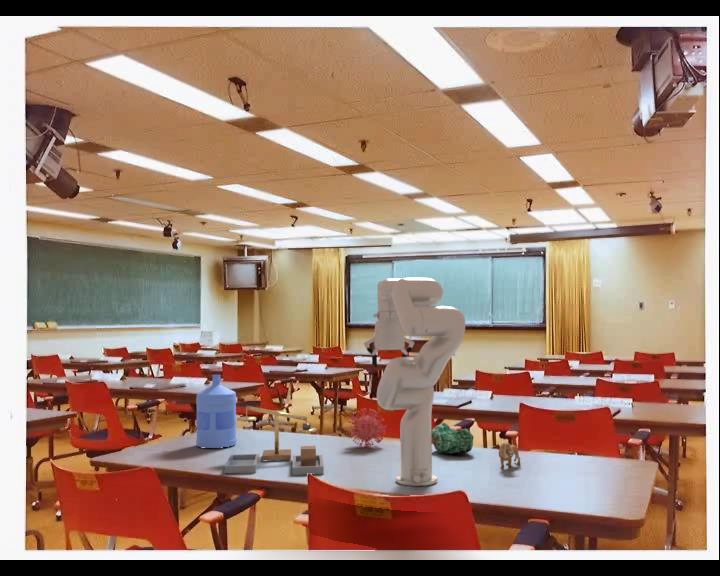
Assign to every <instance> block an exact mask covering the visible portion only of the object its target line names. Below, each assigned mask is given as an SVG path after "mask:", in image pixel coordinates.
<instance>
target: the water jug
mask: <svg viewBox="0 0 720 576" xmlns="http://www.w3.org/2000/svg"><path fill="white" fill-rule="evenodd" d="M211 380H212V384H211V385H210V386H208V387H207V388H204V389H203V390H201V391H199V392H197V393H196V398H195V401H196V402H195V404H196V419H195V422H196V424H195V425H196V441H195V443H196V446H197V447H198V446H199V447H205V448H221V447H228V446H232V447H234V446H236V444H237V405H236V404H237V392H236V391H234V390H232V389H231V388H227V387H226V386H224V385H222V384H221V374H212V379H211ZM233 445H234V446H233ZM199 447H198V448H199ZM228 448H229V447H228Z"/></svg>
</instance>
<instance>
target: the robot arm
mask: <svg viewBox="0 0 720 576" xmlns="http://www.w3.org/2000/svg"><path fill="white" fill-rule="evenodd" d="M376 290H377V291H376V292H377V295H376V296H377V312H375V313H373V315H372V316H373V318H376V319H377V320H376V321H375V323H374V332H373V333H374V334H373V336H374V337H371V338H370V339H368V340H366V341H365V342H363V346H364V347H365V349H366V351H367V352H368V354H370V355H371V364H372V366H373V368H377V367H378V358H377V357H378V356H377V353H378V352H379V351H397V350H398V351H401V353H402V354H401V356H400V357H399V356H398V357H394V358H391V360H389V362H388V363H387V364H386V367H385V369H384V371H383V373H382V376H381V378H380V380H379V383H378V385H377V390H376V402H377V404H378V406H379V407H380V408H381V409H382V410H383V409H384V410H385V411H386V410H387V411H395V410H396V411H397V410H406V411H404V412H405V413H404V414H403V415H402V417H401V420H400V423H399V428H400V429H399V431H400V434H399V435H400V437H399V438H400V440H399V442H400V444H399V445H400V446H399V447H400V474H399V475H396V476H395V481H396V483H398V484H399V485H403V486H410V487H411V486H412V487H421V486H422V487H423V486H425V487H426V486H431V485H434V484H436V483H437V482H438V476H436V475H435V474H433V460H432V459H433V458H432V457H433V453H432V452H433V450H432V448H433V447H432V444H433V441H432V437H431V430H432V410H433V402H434V397H435V396H434V395H435V389H434V388H435V387H434V386H435V385H436V384H437V383H438V380H439V379H440V377H441V375H442V374H443V371H444V370H445V368H446V366H447V364H448V362H449V361H450V359H452V357H453V356H454V354H456V352H457V351H458V349H459V348H460V346H461V345H462V342H463V339H464V336H465V333H466V319H465V316H464V313H463V312H462V311H461V310H460V309H459V308H456V307H453V306H450V305H449V306H446V305H437V304H438V303H439V302H441V300H442V297H443V294H444V290H443V287H442V285H441V284H440V283H439V282H438V281H437V280H436V279H433V278H431V277H430V278H429V277H415V276H414V277H402V278H400V277H398V278H384V279H383V280H379V281H378V283H377V289H376ZM405 334H406V335H408V336H410V337H432V338H430V339H429V340H428V341H426V342H425V343H424V344H423V345H422V346H421V348H420V350H419V352H418V354H417V355H415V356H408V354H409V353H410V352H411V351H412V349H413V347H414V345H415V341H413V340H411V339H409V338H407V337H406V336H405ZM405 342H406V343H407V344H408V346H407V347H406V349H405V344H406V343H405ZM372 343H373V347H374V348H373V349H371V347H370V344H372Z"/></svg>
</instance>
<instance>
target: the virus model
mask: <svg viewBox="0 0 720 576" xmlns="http://www.w3.org/2000/svg"><path fill="white" fill-rule="evenodd" d="M367 411H368V410H367V408H365V407H364V408H360V409H359V410H358V411H357V413H359V414H361V415H360V417H359V418H358V416H356V417H355V415H354V414H352V415H351V417H350V420H349V421H348V423H349V424H353V425H350V426H349V428H348V429H349V430H347V432H348V437H349V438H350V439H352V438H353V437H354V438H353V440H352V441H353V442H354V443H355V444H356V445H357V446H358V445H359V446H360V447H364V448H370V447H372V446H374V445H375V444H374V442H376V443H377V444H380V443H381V442H382V440H383V439H384V436H385V435H386V430H387V424H385V425H383V423H381V422H385V418H383V417H382V415H378V414H379V412H377V410H375V409H372V408H369V413H368V414H367ZM378 418H379V419H378ZM380 434H382V435H383V436H382V435H380ZM355 436H356V437H355ZM373 439H374V441H372V440H373ZM357 441H358V442H357ZM360 441H361V442H360ZM359 442H360V443H359ZM363 443H364V444H363ZM363 445H364V446H363Z"/></svg>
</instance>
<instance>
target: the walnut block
mask: <svg viewBox="0 0 720 576" xmlns="http://www.w3.org/2000/svg"><path fill="white" fill-rule="evenodd" d="M316 455H317V447H316V445H300V456H301V466H316Z"/></svg>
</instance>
